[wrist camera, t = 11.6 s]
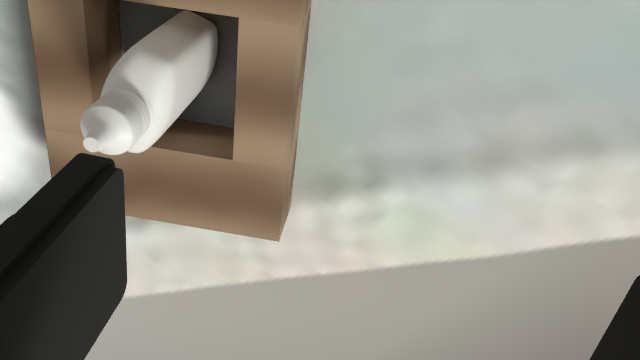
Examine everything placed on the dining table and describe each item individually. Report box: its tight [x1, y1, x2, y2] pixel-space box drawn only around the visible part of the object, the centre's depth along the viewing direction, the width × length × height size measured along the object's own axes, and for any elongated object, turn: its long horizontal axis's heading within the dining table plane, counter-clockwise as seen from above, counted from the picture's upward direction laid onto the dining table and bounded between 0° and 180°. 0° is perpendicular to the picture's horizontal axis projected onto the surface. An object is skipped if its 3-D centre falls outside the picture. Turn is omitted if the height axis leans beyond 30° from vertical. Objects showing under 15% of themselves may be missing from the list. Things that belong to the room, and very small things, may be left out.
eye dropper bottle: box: [80, 10, 218, 155], centre depth 29 cm, size 4×6×12 cm
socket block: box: [27, 0, 311, 241], centre depth 33 cm, size 18×14×4 cm
